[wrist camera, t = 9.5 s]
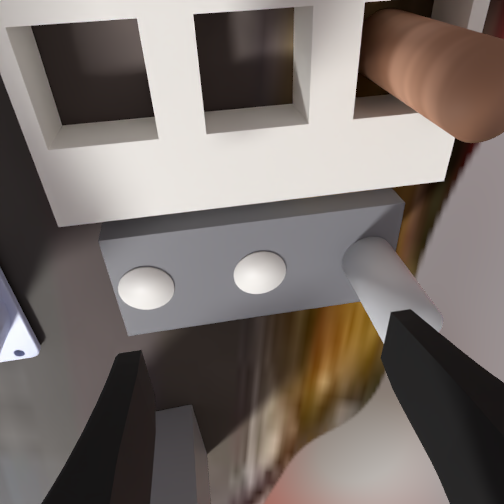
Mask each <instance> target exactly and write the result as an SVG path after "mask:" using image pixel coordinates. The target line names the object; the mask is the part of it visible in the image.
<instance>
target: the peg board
mask: <svg viewBox="0 0 504 504" xmlns="http://www.w3.org/2000/svg"><path fill="white" fill-rule="evenodd" d="M375 1H389V0H0V74H1V77H2V79H3V82H4V84H5V87H6V90H7V92H8V95H9V98H10V100H11V103H12V106H13V108H14V111H15V114H16V116H17V119H18V121H19V124H20V127H21V129H22V132H23V135H24V137H25V140H26V143H27V145H28V148H29V151H30V153H31V156H32V158H33V161H34V164H35V166H36V169H37V172H38V174H39V177H40V180H41V182H42V185H43V188H44V190H45V193H46V196H47V198H48V201H49V203H50V206H51V209H52V211H53V214H54V217H55V219H56V222H57V225H58V227H65V226H73V225H82V224H90V223H98V222H107V221H115V220H123V219H132V218H140V217H148V216H157V215H165V214H173V213H182V212H190V211H199V210H207V209H215V208H224V207H232V206H240V205H249V204H257V203H265V202H274V201H282V200H290V199H299V198H307V197H315V196H324V195H332V194H340V193H349V192H357V191H365V190H374V189H382V188H390V187H399V186H407V185H415V184H424V183H432V182H440V181H444V179H445V175H446V171H447V167H448V163H449V159H450V156H451V152H452V148H453V144H454V140H455V137H453V136H452V135H450V134H449V133H447V132H446V131H444V130H443V129H441V128H440V127H438V126H437V125H436V124H434V123H433V122H431V121H430V120H428V119H427V118H425V117H424V116H422V115H421V114H419V113H418V112H416V111H415V110H414V109H412V108H411V107H409V106H408V105H406V104H405V103H403V102H402V101H400V100H399V99H397V98H396V97H394V96H393V95H392V94H388V95H378V96H367V97H357V98H355V94H356V85H357V75H358V65H359V55H360V46H361V36H362V26H363V16H364V7H365V2H375ZM489 3H490V0H434V4H433V9H432V14H431V19H434V20H438V21H441V22H445V23H448V24H452V25H455V26H459V27H462V28H466V29H469V30H473V31H476V32H480V33H482V30H483V27H484V23H485V19H486V15H487V11H488V7H489ZM289 7H294V47H293V104H283V105H272V106H262V107H251V108H241V109H230V110H220V111H209V112H204V108H203V99H202V90H201V81H200V72H199V62H198V53H197V44H196V35H195V26H194V17H193V14H204V13H218V12H232V11H246V10H261V9H275V8H289ZM132 18H137V21H138V27H139V32H140V38H141V44H142V49H143V55H144V60H145V66H146V71H147V77H148V82H149V88H150V93H151V99H152V104H153V110H154V115H155V117H146V118H136V119H125V120H115V121H104V122H94V123H83V124H73V125H62V123H61V120H60V117H59V114H58V110H57V107H56V104H55V101H54V98H53V95H52V91H51V88H50V85H49V82H48V79H47V76H46V72H45V69H44V66H43V63H42V60H41V57H40V54H39V50H38V47H37V44H36V41H35V38H34V35H33V31H32V28H31V26H33V25H47V24H61V23H75V22H90V21H104V20H118V19H132Z"/></svg>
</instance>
